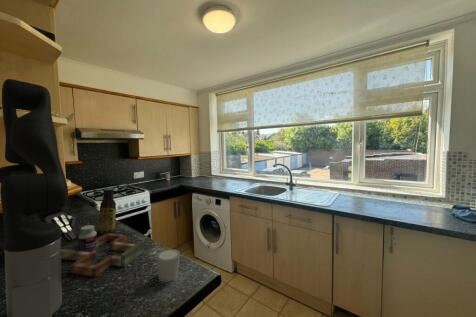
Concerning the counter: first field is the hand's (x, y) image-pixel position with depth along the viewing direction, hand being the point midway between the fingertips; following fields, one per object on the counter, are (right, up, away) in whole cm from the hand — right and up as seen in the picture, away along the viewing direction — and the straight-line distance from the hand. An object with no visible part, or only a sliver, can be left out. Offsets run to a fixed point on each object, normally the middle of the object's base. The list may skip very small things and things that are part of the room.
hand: (72, 240), depth 75 cm
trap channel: (+12, -4, -1) cm, 13 cm away
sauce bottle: (+2, -3, +17) cm, 17 cm away
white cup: (+40, -6, -12) cm, 42 cm away
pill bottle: (+6, -4, -1) cm, 7 cm away
